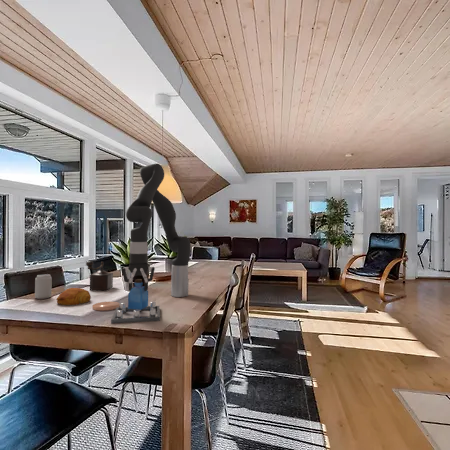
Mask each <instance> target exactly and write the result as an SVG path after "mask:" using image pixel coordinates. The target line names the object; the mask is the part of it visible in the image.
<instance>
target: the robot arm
mask: <svg viewBox="0 0 450 450" xmlns="http://www.w3.org/2000/svg"><path fill="white" fill-rule="evenodd" d="M139 174H140V177H141V178H140V179H141V180H142V182H143V184H144V185H143V186H142V187H141V188H140V189H139V191H138V193H137V195H136V198H135V199H134V201H133V202H132V203H131V204H130V205H129V206H128V207H127V210H126V212H125V213H126V214H125V216H126V219H127V222H130V223H141V225H140V226H139V227H135V228H134V227H133V228H132V229H131V230H130V242H129V265H128V266H126V267H122V268H121V272H122V276H123V282H124V283H127V284H128V291H129V292H130V290H131V289H132V288H133V280H134V277H138V276H140V277H141V276H142V279H143V280H144V286H145V291H146V290H147V291H149V290H148V289H149V283H150V282H152V281H153V279H154V278H153V277H154V274H155V270H156V269H155V266H150V265H148V263H149V261H148V259H149V258H148V257H149V247H148V231H149V227H150V223H151V220H152V216H153V215H152V214H153V212H152V209H151V208H150V207H151V206H152V204H153V207H154V209H155V211H156V214H157V216H158V218H159V220H160V222H161V225H162V228H163V231H164V233H165V237H166V240H167V244H168V247H169V249H170V250H171V252H173V253H177V256H176V257H174V259H172V260H171V281H170V282H171V283H170V284H171V286H170V287H171V288H170V289H171V290H170V294H171V295H170V296H171V297H174V298H184V297H189V280H190V279H189V261H190V258H191V247H192V245H191V241H190V239H189V237H188V236H180V235H178V232H177V230H176V219H177V214H176V211H175V207H174V205H173V203H172V201H170V199H169V198H167V197H166V196H165V195H164V194H162V193H161V192H160V191H159V190H158V189H159V188H160V185H161V184H162V182H163V180H164V178H165V170H164V168H163V166H162V165H161V164H160V163H153V164H149V165H144V166H142V167H140V170H139ZM129 271H130V273H131V276H130V278H128V275H127V272H129ZM147 271H149V272H150V275H149V278H148V276H147Z"/></svg>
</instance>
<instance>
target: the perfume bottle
mask: <svg viewBox="0 0 450 450" xmlns="http://www.w3.org/2000/svg"><path fill="white" fill-rule="evenodd" d="M143 284H144V283H143V278H137V279H136V278H135V279H134V286H132V289H131V290H130V291H129V292H128V294H127V299H128V300H127V307H128V309H140V310H141V311H143V310H142V309H143V308H145V307H147V306H149V290H146V291H145V285H144V286H143Z"/></svg>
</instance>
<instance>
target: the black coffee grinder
mask: <svg viewBox="0 0 450 450" xmlns="http://www.w3.org/2000/svg"><path fill="white" fill-rule="evenodd" d="M85 264H86V265H85V266H87V270H93V271H94V270H95V272H93V273H92V274H90V275H89V291H91V292H92V291H93V292H107V291H109V290H111V289H112V287H114V285H113V284H114V283H113V282H114V273H113V272H108V271H106V270H104V261H101V263H100V266H98V267H93V265H94V262H93V261H92V260H88V261H86V263H85ZM98 269H99V270H98Z"/></svg>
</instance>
